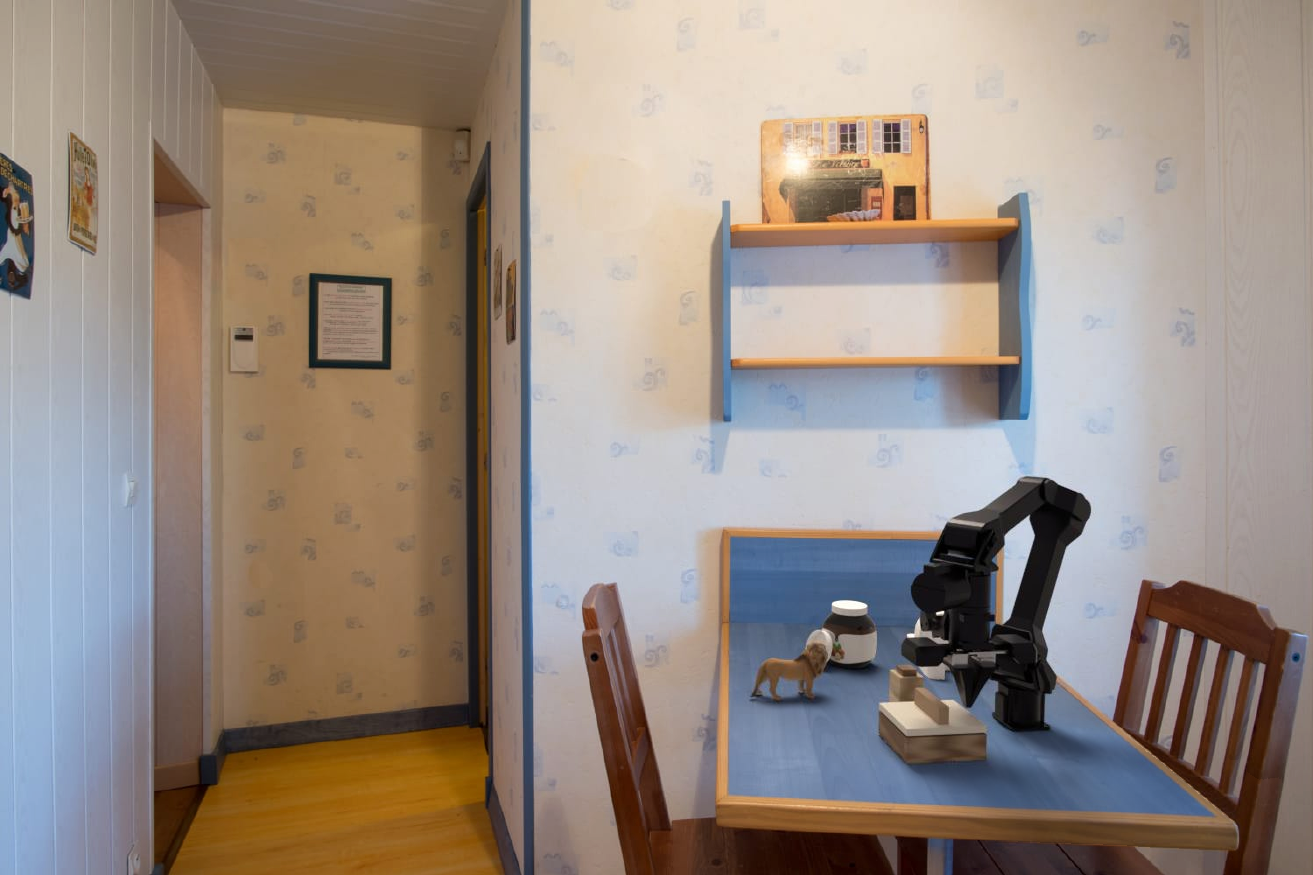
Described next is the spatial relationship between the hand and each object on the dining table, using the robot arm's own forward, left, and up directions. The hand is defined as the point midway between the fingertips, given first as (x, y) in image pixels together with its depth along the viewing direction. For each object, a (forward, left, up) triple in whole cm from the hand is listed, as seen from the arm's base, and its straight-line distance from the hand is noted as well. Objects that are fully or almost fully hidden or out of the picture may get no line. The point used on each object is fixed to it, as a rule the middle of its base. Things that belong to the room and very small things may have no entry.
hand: (967, 706), depth 119 cm
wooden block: (+4, -12, -6) cm, 14 cm away
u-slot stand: (-14, -36, -6) cm, 39 cm away
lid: (+6, 0, -2) cm, 6 cm away
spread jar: (+6, -38, -6) cm, 39 cm away
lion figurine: (+20, -23, -6) cm, 31 cm away
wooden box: (+6, 0, -6) cm, 8 cm away
